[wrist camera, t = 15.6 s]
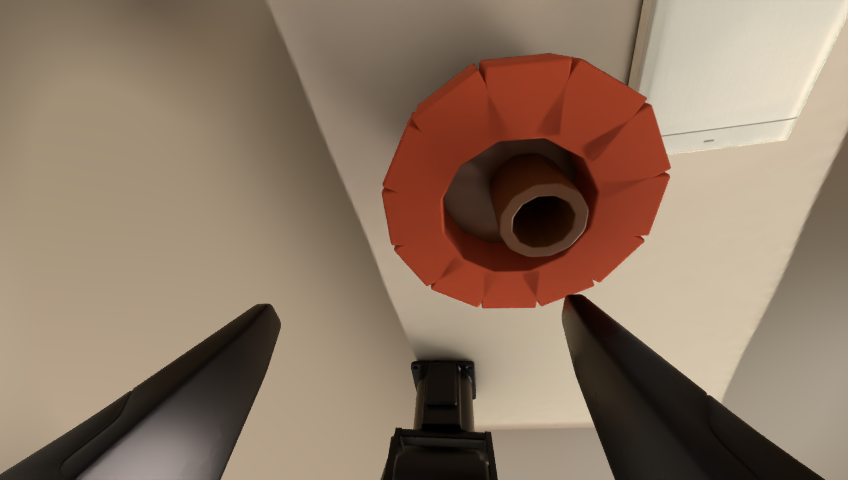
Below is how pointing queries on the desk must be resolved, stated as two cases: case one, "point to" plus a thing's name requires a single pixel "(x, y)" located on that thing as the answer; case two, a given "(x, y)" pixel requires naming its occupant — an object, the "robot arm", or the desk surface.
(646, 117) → the orange faceted ring
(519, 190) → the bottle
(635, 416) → the robot arm
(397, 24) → the desk surface
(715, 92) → the hard drive
